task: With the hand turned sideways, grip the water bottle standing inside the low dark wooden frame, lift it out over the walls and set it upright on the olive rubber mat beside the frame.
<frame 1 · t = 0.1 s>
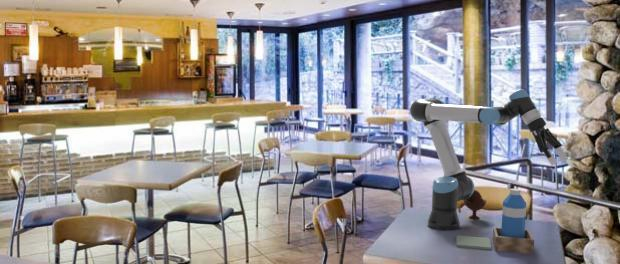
hand: (560, 162, 235), 36 cm above the table, tool tilted 35°, fingers open, 13 cm apart
mat: (473, 243, 235), on the table
ice cream bowl: (474, 218, 277), on the table
water bottle: (512, 247, 231), resting in wooden frame
wooden frame: (512, 246, 231), on the table
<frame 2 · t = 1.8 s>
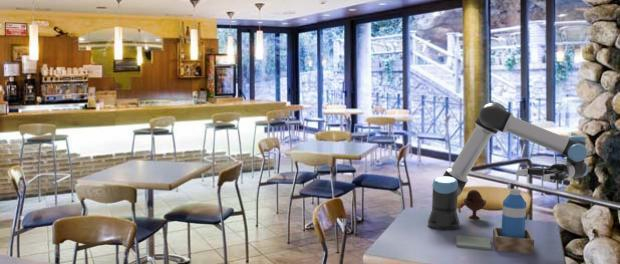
hand: (530, 175, 233), 30 cm above the table, tool horizontal, fingers open, 13 cm apart
nothing on the table moved.
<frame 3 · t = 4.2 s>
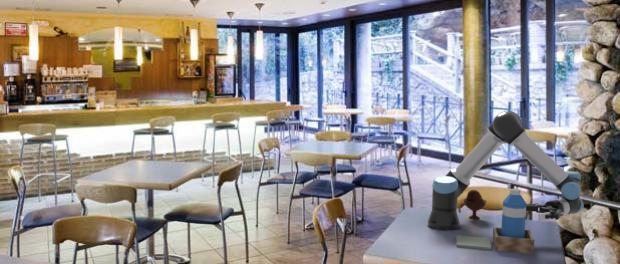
hand: (525, 213, 233), 14 cm above the table, tool horizontal, fingers open, 13 cm apart
nothing on the table moved.
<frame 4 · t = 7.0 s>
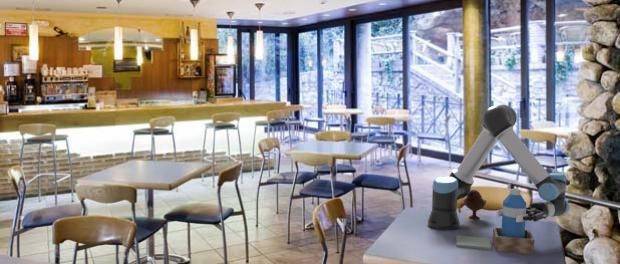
hand: (506, 216, 227), 14 cm above the table, tool horizontal, fingers closed on water bottle, 9 cm apart
water bottle: (512, 247, 231), resting in wooden frame, touching gripper
everything else where it was.
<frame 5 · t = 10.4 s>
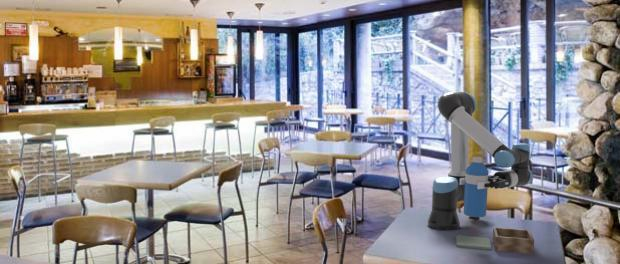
hand: (469, 183, 230), 27 cm above the table, tool horizontal, fingers closed on water bottle, 9 cm apart
water bottle: (474, 214, 234), point 13 cm above the table, touching gripper
everything else where it was.
when the fingers open (16 cm above the table, at t = 13.9 s): water bottle stays where it is, resting on mat.
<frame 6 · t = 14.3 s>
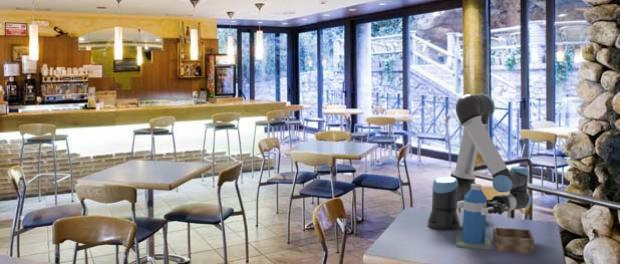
hand: (469, 208, 232), 16 cm above the table, tool horizontal, fingers open, 13 cm apart
water bottle: (473, 241, 235), point 1 cm above the table, touching mat
everything else where it was.
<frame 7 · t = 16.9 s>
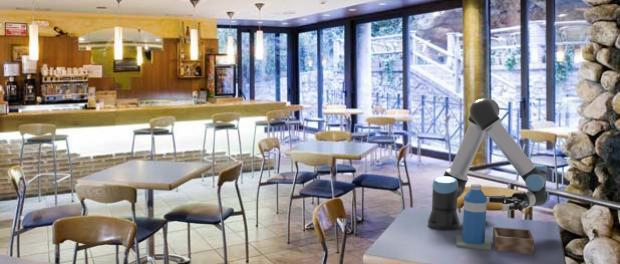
hand: (490, 204, 238), 16 cm above the table, tool horizontal, fingers open, 13 cm apart
nothing on the table moved.
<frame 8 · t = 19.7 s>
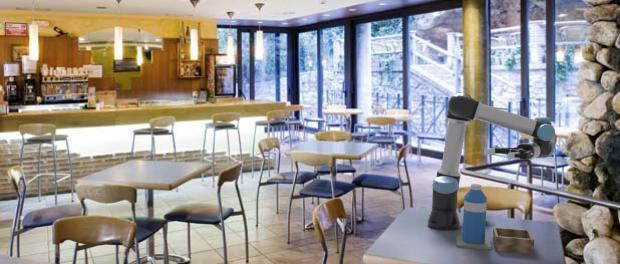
hand: (496, 153, 242), 38 cm above the table, tool horizontal, fingers open, 13 cm apart
nothing on the table moved.
at the end: water bottle inside the target area on the mat (0.0 cm from its centre), point 0.8 cm above the mat's base; water bottle tilted 0°; the gripper is holding nothing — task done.
